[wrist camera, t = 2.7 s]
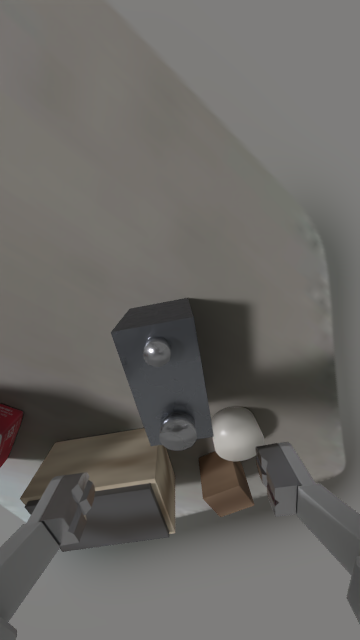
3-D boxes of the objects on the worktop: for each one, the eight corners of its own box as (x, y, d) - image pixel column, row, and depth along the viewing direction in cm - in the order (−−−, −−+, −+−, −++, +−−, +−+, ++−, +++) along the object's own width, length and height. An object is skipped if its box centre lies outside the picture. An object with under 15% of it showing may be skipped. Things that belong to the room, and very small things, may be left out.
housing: (130, 308, 16) (104, 339, 10) (187, 297, 15) (195, 323, 10) (156, 398, 19) (149, 459, 13) (204, 390, 19) (216, 449, 13)
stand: (55, 442, 20) (16, 504, 15) (159, 425, 20) (154, 484, 15) (84, 489, 24) (59, 554, 19) (175, 476, 23) (175, 539, 18)
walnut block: (198, 457, 22) (203, 498, 18) (228, 445, 22) (239, 485, 18) (213, 474, 23) (220, 517, 20) (241, 463, 23) (254, 505, 19)
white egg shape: (207, 409, 20) (211, 430, 17) (253, 401, 19) (264, 422, 17) (212, 441, 21) (217, 464, 19) (255, 434, 21) (265, 457, 19)
